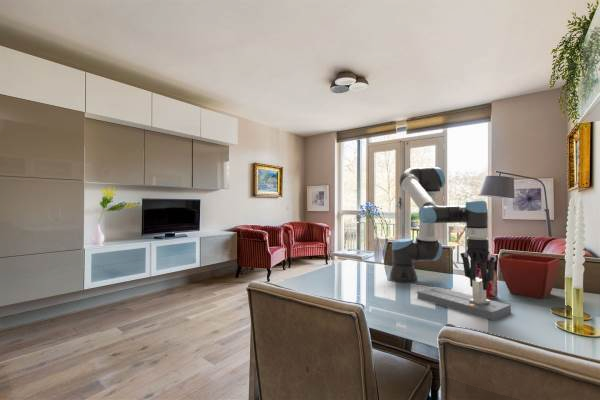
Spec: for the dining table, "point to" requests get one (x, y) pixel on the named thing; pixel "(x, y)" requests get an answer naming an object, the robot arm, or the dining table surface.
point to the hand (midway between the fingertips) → (479, 296)
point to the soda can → (491, 286)
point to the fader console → (464, 303)
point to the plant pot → (529, 274)
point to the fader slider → (478, 294)
